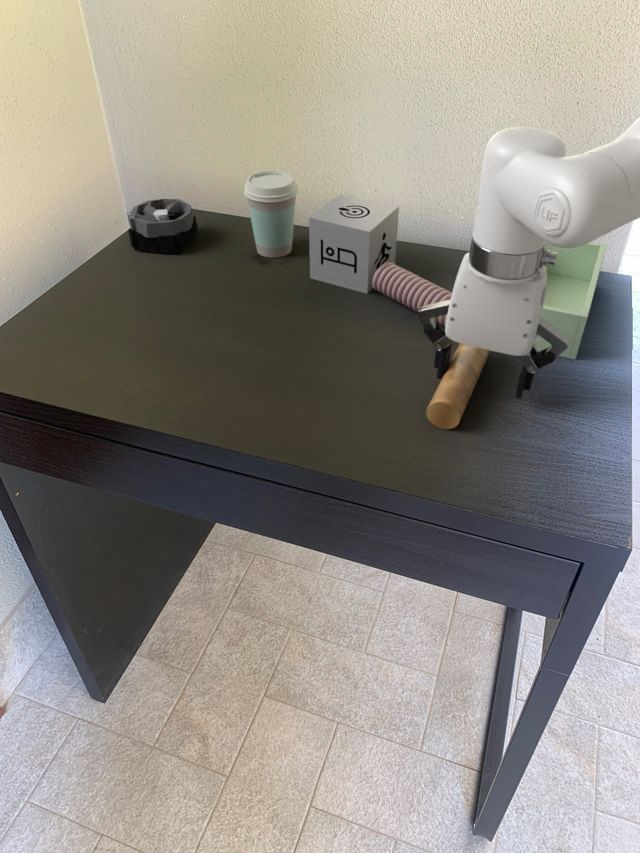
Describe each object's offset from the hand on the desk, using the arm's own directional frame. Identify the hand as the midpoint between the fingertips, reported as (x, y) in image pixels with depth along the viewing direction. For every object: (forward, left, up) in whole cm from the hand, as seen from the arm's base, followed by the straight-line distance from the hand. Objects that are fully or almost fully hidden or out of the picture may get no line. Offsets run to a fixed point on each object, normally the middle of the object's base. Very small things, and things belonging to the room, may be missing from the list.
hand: (480, 382), depth 84 cm
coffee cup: (+41, -25, -2) cm, 48 cm away
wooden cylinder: (0, 0, 0) cm, 1 cm away
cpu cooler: (+59, -21, -2) cm, 63 cm away
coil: (+12, -16, -2) cm, 20 cm away
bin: (-4, -23, -2) cm, 23 cm away
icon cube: (+26, -23, -2) cm, 35 cm away
